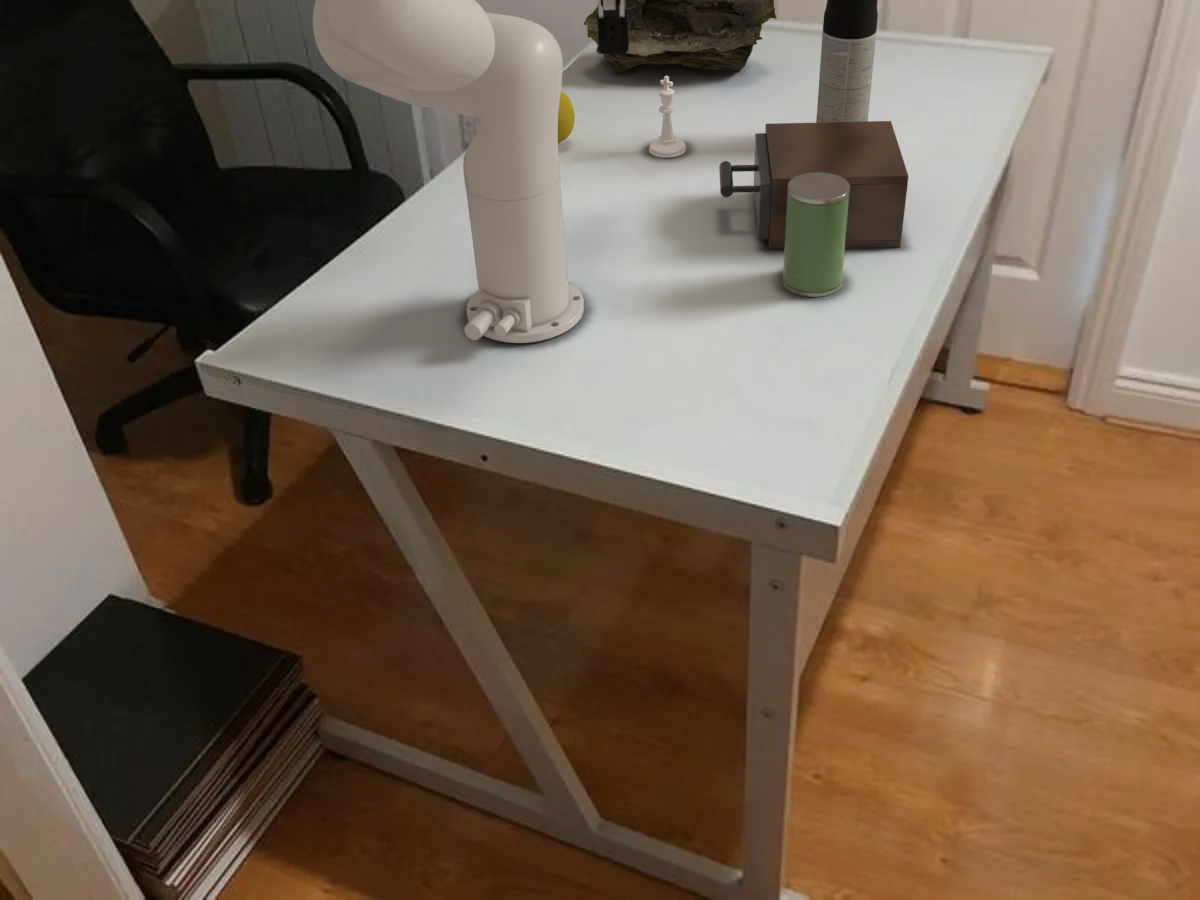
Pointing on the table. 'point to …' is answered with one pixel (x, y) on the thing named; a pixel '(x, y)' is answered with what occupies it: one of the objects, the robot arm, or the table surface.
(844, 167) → the cabinet
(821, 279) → the tin can
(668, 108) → the chess piece
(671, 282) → the table surface
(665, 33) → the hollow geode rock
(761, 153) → the drawer
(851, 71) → the spray can
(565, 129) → the lemon
